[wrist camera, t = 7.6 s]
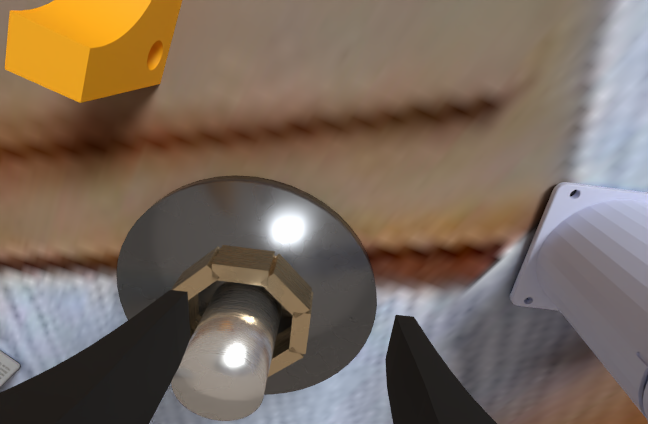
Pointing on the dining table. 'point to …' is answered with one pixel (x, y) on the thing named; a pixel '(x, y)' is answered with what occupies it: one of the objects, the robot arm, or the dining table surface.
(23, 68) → the pipe clamp
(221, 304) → the piston
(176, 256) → the ring collar
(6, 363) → the coffee box
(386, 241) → the dining table surface
